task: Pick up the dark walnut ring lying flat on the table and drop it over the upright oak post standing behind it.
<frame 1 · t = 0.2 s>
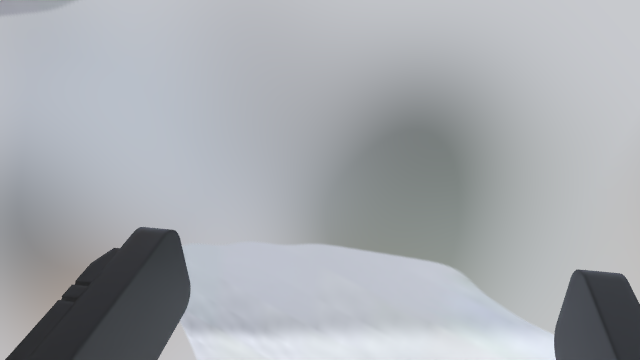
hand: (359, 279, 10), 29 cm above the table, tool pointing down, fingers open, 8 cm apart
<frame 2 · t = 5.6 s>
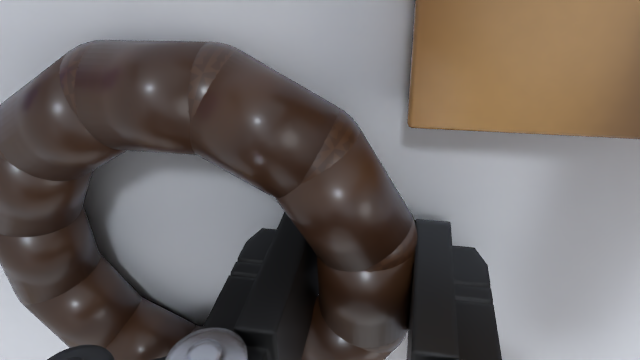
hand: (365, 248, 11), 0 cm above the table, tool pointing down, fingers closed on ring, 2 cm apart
ring: (195, 258, 11), point 1 cm above the table, touching gripper
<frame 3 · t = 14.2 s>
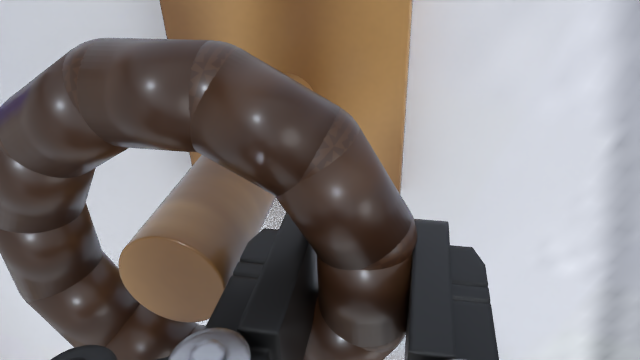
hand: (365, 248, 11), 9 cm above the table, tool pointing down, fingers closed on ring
post: (294, 91, 20), on the table
ring: (196, 256, 11), point 10 cm above the table, touching gripper
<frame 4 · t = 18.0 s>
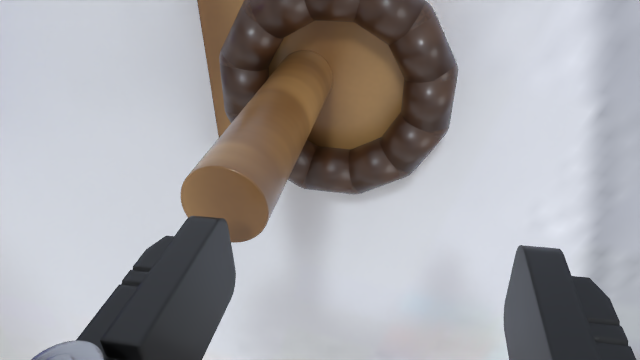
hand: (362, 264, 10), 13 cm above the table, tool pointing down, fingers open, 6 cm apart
post: (311, 68, 22), on the table
ring: (334, 90, 20), point 2 cm above the table, touching post
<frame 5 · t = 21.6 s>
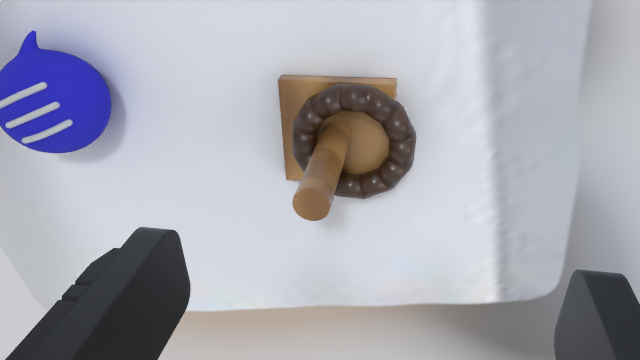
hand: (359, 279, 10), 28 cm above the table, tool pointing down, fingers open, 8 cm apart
decorative object: (69, 83, 42), on the table
post: (338, 129, 40), on the table
ring: (352, 144, 38), point 2 cm above the table, touching post
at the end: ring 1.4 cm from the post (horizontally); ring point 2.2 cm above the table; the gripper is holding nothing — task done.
